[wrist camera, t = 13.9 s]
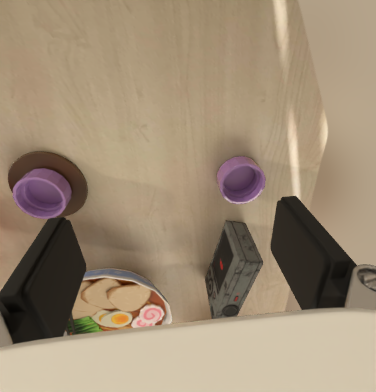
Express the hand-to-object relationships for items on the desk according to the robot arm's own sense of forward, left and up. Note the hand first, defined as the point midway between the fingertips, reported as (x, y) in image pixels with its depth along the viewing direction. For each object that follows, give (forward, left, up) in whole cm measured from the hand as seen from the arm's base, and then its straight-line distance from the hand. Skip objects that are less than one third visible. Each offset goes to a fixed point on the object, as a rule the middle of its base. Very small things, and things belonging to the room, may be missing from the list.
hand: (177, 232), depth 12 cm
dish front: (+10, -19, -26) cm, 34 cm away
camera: (+28, +8, -26) cm, 39 cm away
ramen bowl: (+34, -14, -26) cm, 45 cm away
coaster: (+10, -19, -26) cm, 34 cm away
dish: (+11, +10, -26) cm, 30 cm away
